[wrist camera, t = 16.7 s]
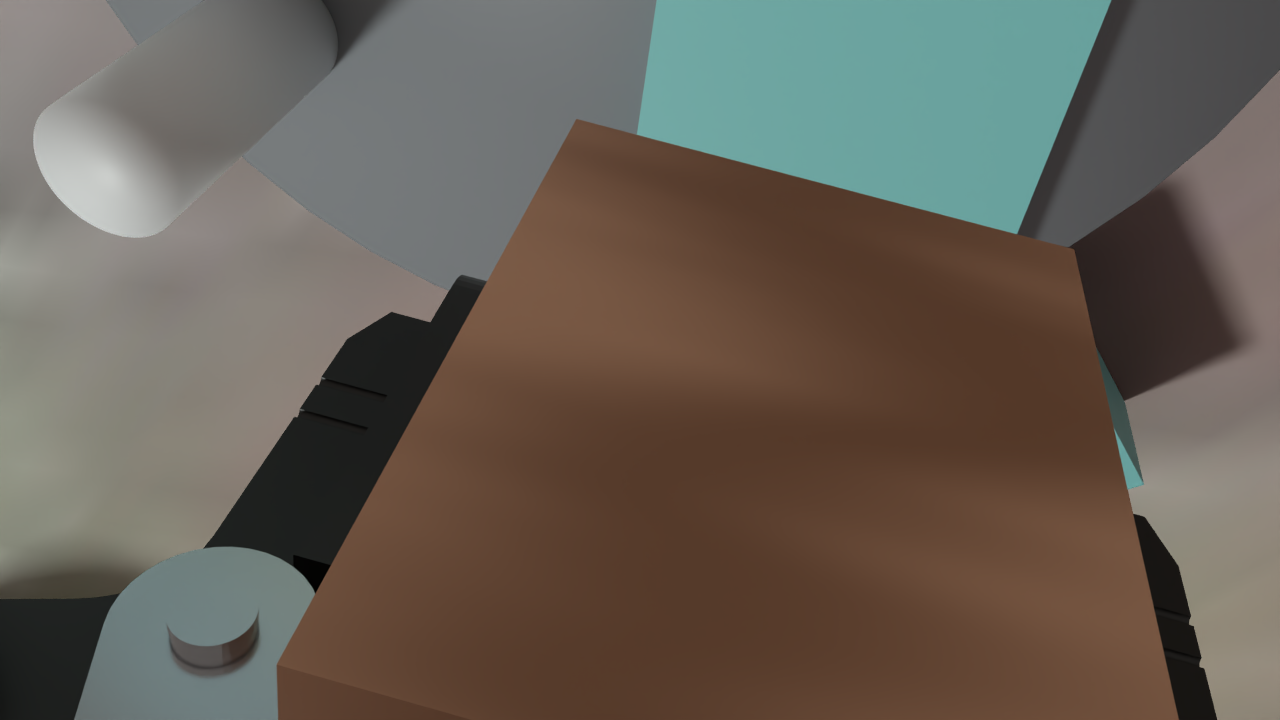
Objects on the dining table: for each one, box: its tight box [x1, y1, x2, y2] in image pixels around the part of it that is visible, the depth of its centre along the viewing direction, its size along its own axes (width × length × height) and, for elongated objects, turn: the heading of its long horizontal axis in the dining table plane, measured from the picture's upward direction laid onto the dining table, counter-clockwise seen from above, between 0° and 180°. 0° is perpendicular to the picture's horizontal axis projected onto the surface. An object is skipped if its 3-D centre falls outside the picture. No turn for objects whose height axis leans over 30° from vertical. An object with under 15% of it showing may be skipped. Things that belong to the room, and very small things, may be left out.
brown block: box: [276, 119, 1179, 720], centre depth 9 cm, size 4×4×6 cm
